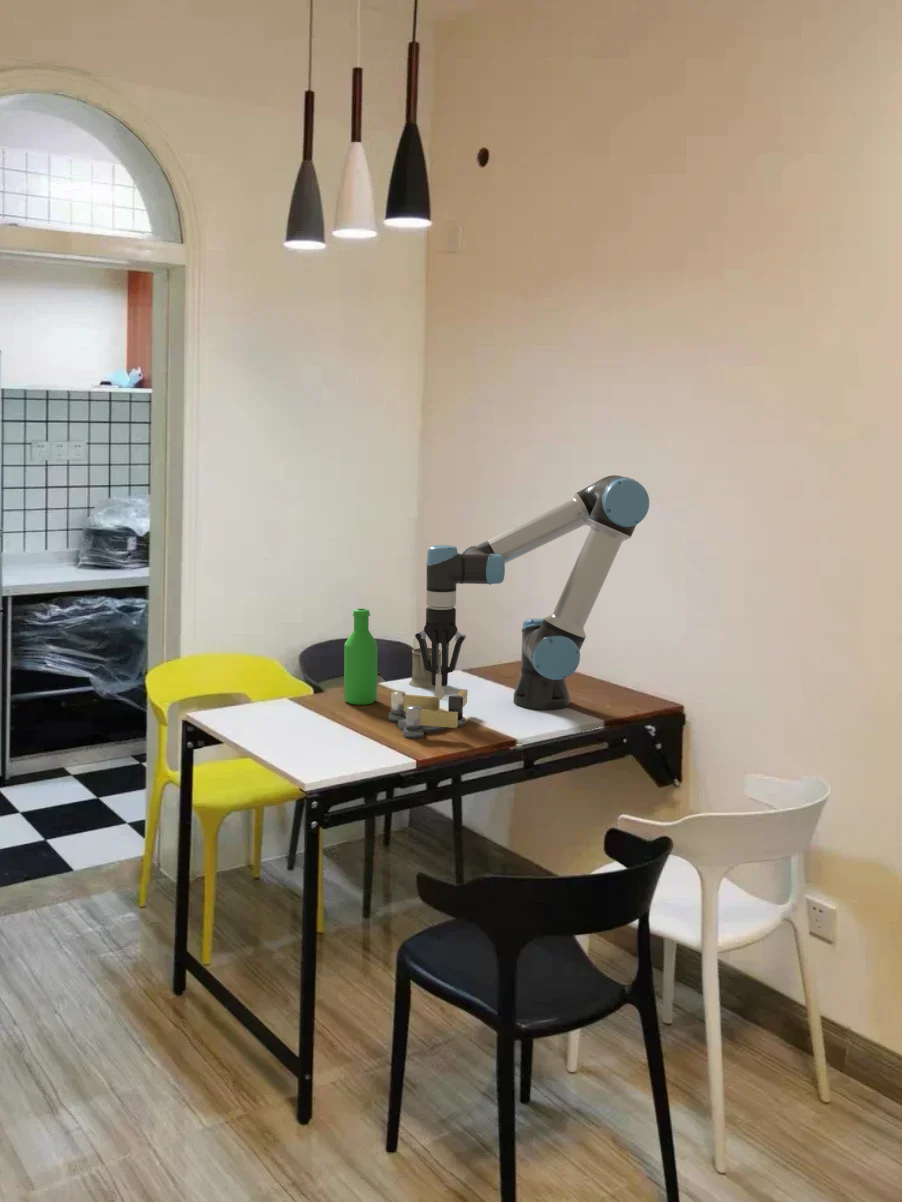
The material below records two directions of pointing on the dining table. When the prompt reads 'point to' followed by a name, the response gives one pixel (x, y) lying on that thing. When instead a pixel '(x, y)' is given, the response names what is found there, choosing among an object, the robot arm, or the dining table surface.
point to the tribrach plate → (424, 728)
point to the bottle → (360, 662)
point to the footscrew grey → (429, 718)
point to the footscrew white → (412, 702)
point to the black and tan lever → (458, 703)
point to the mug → (422, 670)
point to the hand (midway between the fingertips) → (439, 698)
